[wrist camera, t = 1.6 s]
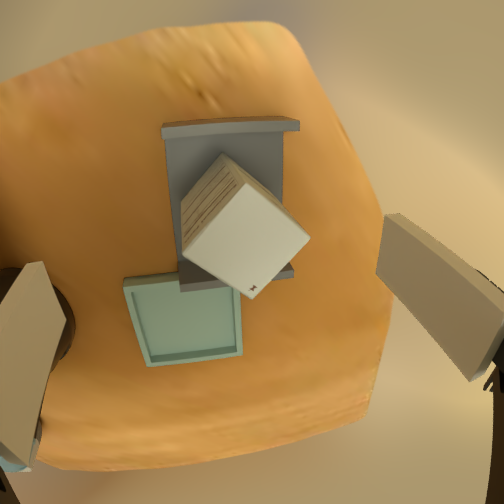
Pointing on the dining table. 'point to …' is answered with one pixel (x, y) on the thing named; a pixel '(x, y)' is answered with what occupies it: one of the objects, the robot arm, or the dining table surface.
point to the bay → (202, 157)
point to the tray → (183, 320)
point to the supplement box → (237, 228)
